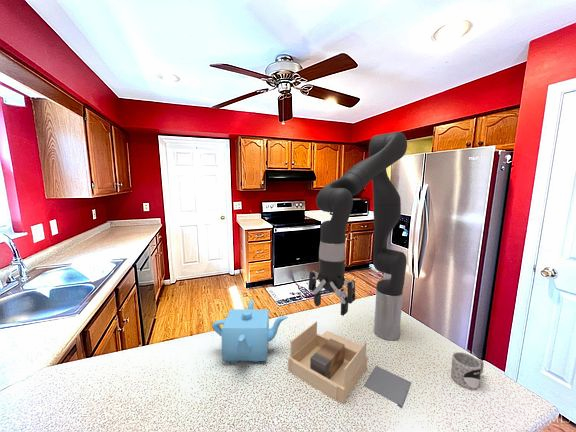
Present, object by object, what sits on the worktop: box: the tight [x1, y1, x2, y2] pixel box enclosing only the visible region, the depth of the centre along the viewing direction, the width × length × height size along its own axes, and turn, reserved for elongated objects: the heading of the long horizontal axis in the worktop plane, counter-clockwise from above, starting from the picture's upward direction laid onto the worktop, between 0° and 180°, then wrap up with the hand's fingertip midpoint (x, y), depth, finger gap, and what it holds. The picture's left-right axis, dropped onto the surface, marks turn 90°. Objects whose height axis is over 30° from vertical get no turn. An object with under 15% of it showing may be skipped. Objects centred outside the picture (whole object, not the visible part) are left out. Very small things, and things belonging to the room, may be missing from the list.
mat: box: [363, 365, 412, 409], centre depth 68 cm, size 10×10×1 cm
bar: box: [310, 339, 345, 380], centre depth 73 cm, size 12×5×6 cm, turn 141°
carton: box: [287, 321, 368, 405], centre depth 74 cm, size 20×18×10 cm
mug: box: [450, 351, 485, 391], centre depth 71 cm, size 10×7×7 cm
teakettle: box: [212, 299, 288, 365], centre depth 80 cm, size 19×19×15 cm
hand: (330, 309), depth 71 cm, fingers open, 8 cm apart
